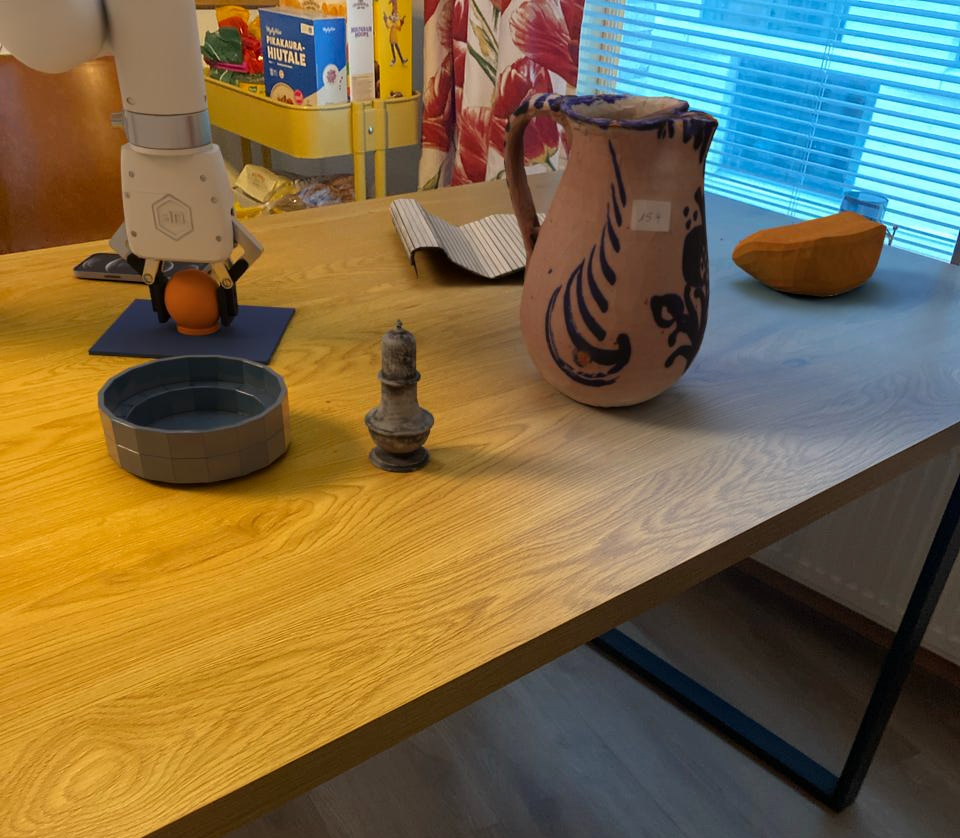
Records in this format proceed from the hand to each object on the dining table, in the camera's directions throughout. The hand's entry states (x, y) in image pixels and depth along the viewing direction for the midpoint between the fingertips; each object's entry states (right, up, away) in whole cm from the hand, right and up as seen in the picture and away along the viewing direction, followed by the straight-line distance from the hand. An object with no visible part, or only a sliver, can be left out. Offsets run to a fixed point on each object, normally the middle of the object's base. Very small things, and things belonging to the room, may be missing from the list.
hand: (197, 318), depth 99 cm
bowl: (+6, -17, -18) cm, 26 cm away
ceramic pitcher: (+41, -9, -5) cm, 42 cm away
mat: (+31, +17, +26) cm, 44 cm away
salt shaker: (+23, -18, -18) cm, 35 cm away
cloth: (0, -1, +1) cm, 1 cm away
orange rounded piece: (0, +2, -1) cm, 2 cm away
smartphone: (-11, +10, +14) cm, 20 cm away
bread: (+72, +12, +23) cm, 76 cm away
